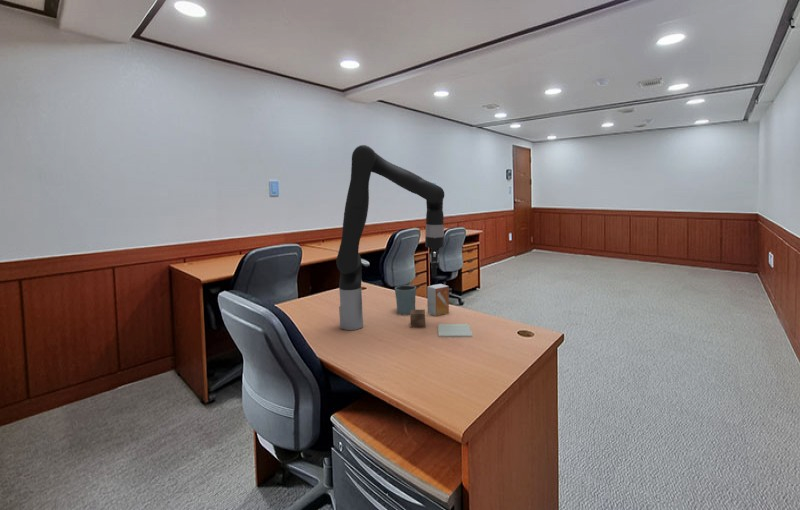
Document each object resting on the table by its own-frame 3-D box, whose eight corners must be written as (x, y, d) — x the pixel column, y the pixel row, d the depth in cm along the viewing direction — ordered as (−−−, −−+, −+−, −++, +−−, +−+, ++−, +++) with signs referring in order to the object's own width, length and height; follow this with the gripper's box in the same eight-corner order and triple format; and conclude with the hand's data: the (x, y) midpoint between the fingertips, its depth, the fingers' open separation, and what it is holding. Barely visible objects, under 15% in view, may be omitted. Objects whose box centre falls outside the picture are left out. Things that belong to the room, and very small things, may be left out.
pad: (438, 336, 148) (438, 335, 148) (438, 325, 161) (437, 324, 161) (472, 336, 147) (472, 335, 147) (468, 325, 160) (468, 323, 160)
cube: (410, 327, 159) (410, 314, 158) (411, 322, 165) (410, 309, 164) (424, 327, 159) (424, 314, 158) (425, 322, 165) (424, 309, 164)
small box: (435, 316, 172) (435, 288, 170) (427, 313, 177) (426, 286, 175) (449, 313, 176) (449, 285, 174) (440, 309, 182) (440, 283, 180)
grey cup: (402, 316, 173) (401, 291, 172) (391, 311, 182) (390, 286, 180) (420, 312, 178) (420, 287, 177) (409, 307, 187) (408, 283, 185)
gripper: (425, 233, 161) (425, 270, 164) (425, 237, 147) (424, 278, 150) (443, 233, 161) (442, 271, 163) (444, 237, 147) (443, 278, 149)
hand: (434, 274), depth 157 cm, fingers open, 8 cm apart
